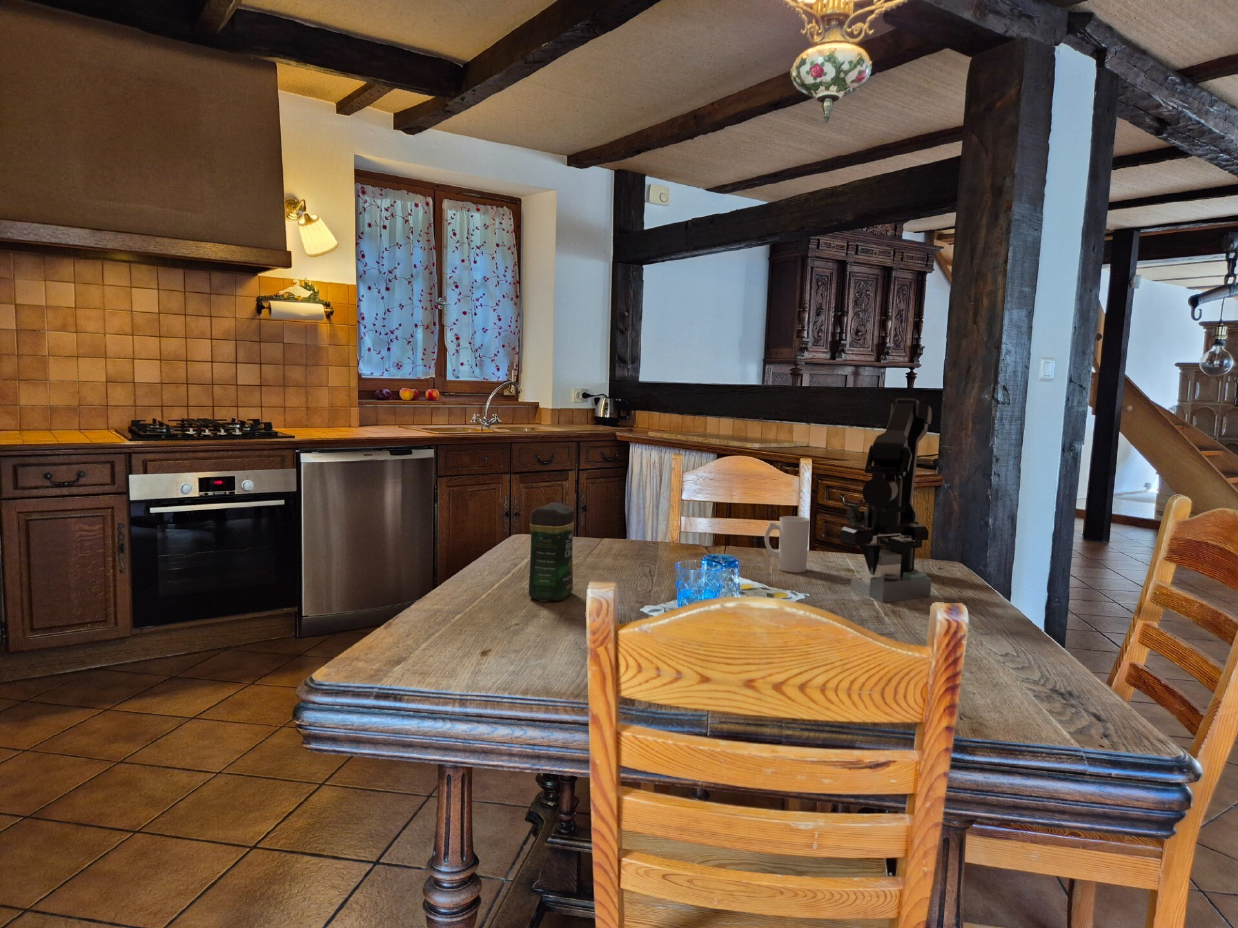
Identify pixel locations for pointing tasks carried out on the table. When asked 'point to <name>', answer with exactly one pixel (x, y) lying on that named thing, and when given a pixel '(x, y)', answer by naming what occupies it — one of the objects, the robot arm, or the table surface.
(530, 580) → the coffee jar
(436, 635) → the table surface
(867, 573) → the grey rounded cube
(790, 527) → the mug
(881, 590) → the knobbed block assembly
